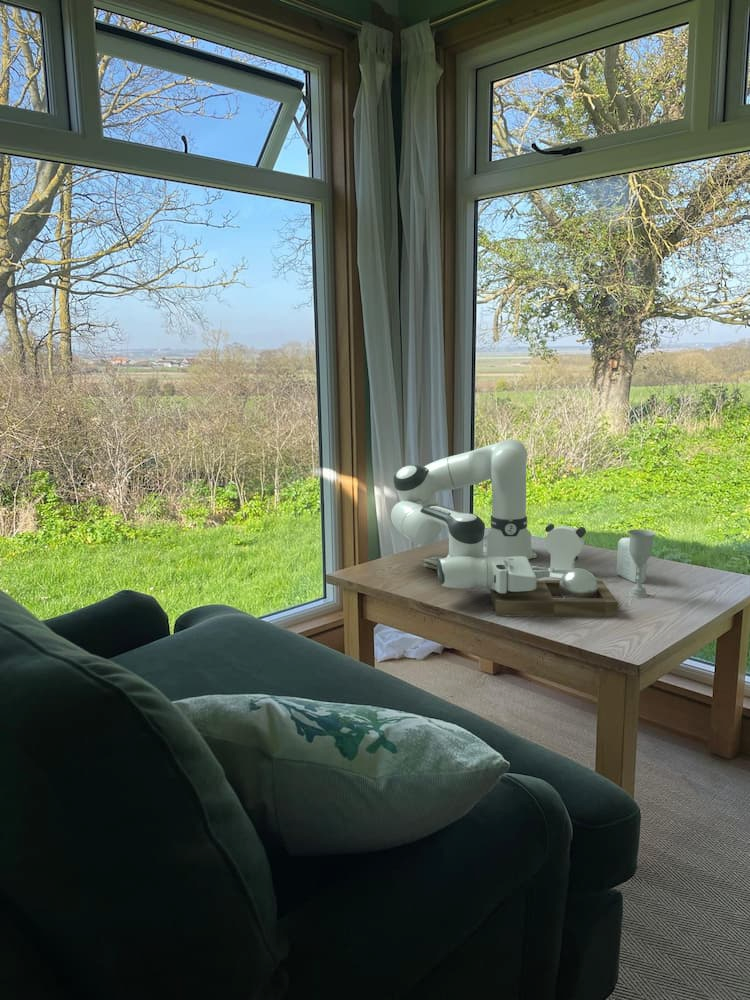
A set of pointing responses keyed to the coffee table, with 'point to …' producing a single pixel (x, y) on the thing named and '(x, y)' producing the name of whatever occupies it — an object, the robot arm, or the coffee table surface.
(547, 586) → the brown slotted slab
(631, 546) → the chalice
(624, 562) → the white rounded block
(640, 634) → the coffee table surface
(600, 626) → the coffee table surface
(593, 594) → the steel ball
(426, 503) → the robot arm
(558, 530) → the panda figurine
